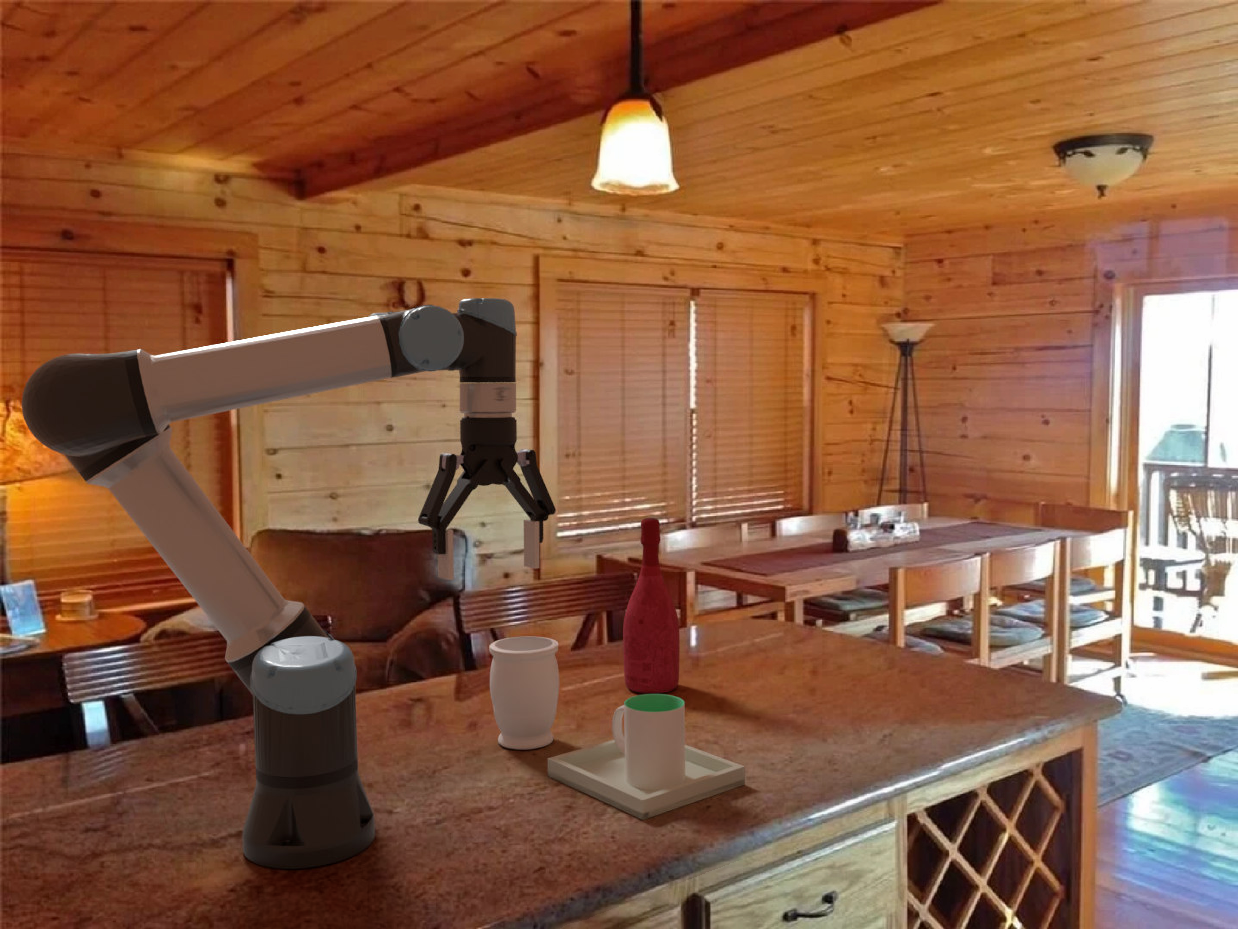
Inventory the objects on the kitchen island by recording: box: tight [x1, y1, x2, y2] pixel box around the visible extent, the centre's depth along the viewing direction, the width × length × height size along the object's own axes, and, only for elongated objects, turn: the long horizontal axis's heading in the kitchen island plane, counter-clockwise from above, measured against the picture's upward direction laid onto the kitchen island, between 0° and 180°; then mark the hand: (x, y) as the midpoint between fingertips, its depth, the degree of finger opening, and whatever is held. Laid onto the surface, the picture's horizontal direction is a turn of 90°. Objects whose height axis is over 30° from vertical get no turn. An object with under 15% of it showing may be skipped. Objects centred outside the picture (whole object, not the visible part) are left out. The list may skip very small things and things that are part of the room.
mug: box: [611, 693, 686, 790], centre depth 150 cm, size 12×8×10 cm
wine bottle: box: [622, 517, 681, 694], centre depth 194 cm, size 10×10×30 cm
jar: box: [488, 635, 560, 751], centre depth 167 cm, size 11×10×15 cm
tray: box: [547, 736, 746, 821], centre depth 151 cm, size 18×20×2 cm
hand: (490, 573), depth 150 cm, fingers open, 13 cm apart
